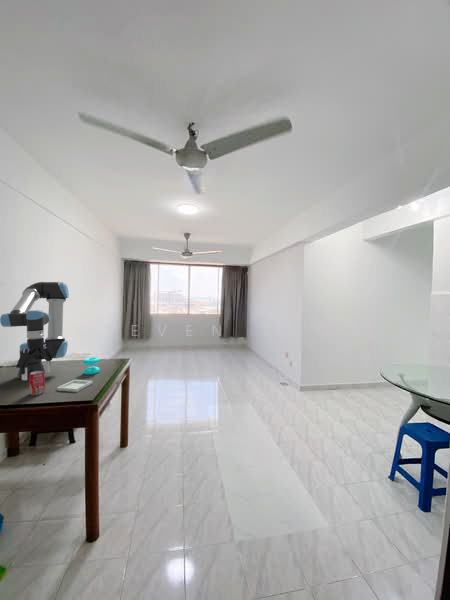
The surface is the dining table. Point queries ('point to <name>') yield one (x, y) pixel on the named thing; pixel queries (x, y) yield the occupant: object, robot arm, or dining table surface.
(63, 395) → the dining table surface
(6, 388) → the dining table surface
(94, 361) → the donuts
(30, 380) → the soda can
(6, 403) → the dining table surface
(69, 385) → the dish
